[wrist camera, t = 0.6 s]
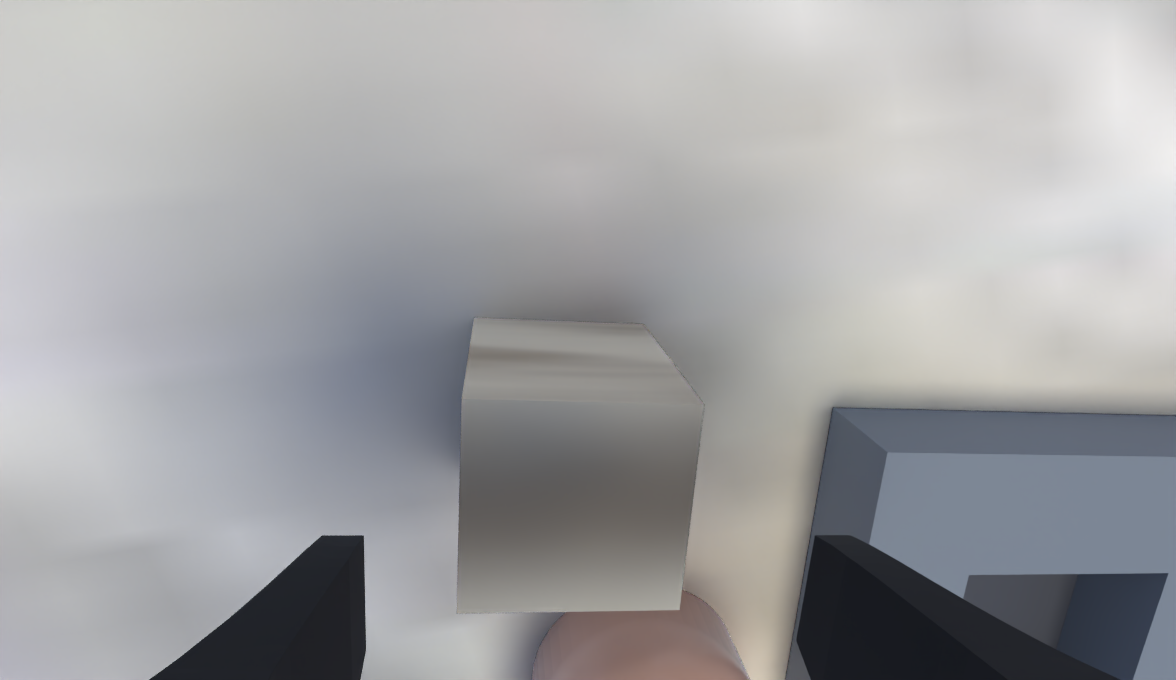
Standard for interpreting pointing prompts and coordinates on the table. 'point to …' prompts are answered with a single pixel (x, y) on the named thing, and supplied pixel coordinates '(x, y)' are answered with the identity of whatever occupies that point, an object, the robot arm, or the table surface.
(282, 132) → the table surface
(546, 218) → the table surface
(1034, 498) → the socket block
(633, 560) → the square peg
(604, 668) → the round peg
